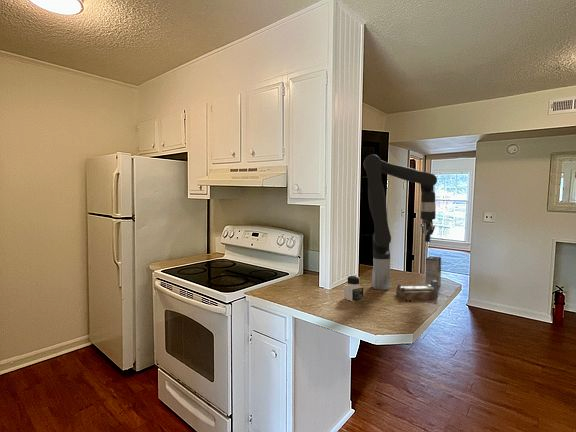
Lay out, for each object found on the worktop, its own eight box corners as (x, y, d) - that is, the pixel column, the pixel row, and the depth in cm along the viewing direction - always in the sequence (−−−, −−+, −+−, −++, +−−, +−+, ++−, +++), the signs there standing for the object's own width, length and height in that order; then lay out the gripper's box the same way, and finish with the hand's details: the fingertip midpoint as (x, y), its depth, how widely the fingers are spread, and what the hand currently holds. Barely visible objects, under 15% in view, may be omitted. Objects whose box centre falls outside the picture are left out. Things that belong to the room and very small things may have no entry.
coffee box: (429, 282, 194) (429, 255, 192) (440, 284, 190) (441, 257, 188) (425, 286, 186) (425, 258, 185) (437, 288, 182) (437, 259, 181)
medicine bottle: (352, 302, 161) (352, 279, 160) (343, 298, 167) (343, 275, 166) (363, 300, 164) (363, 277, 163) (354, 296, 170) (354, 274, 169)
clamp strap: (401, 290, 166) (401, 286, 165) (398, 288, 170) (398, 284, 169) (433, 290, 166) (433, 286, 166) (429, 288, 170) (430, 284, 170)
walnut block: (402, 300, 163) (402, 289, 163) (396, 294, 172) (396, 283, 172) (435, 299, 164) (435, 288, 163) (427, 293, 172) (427, 283, 172)
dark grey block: (433, 297, 166) (433, 281, 166) (430, 295, 170) (430, 280, 169) (438, 297, 166) (438, 281, 166) (435, 295, 170) (435, 279, 169)
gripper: (416, 209, 184) (415, 240, 185) (426, 211, 170) (425, 243, 172) (429, 209, 184) (429, 239, 185) (440, 211, 170) (439, 243, 172)
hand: (427, 241), depth 178 cm, fingers closed
